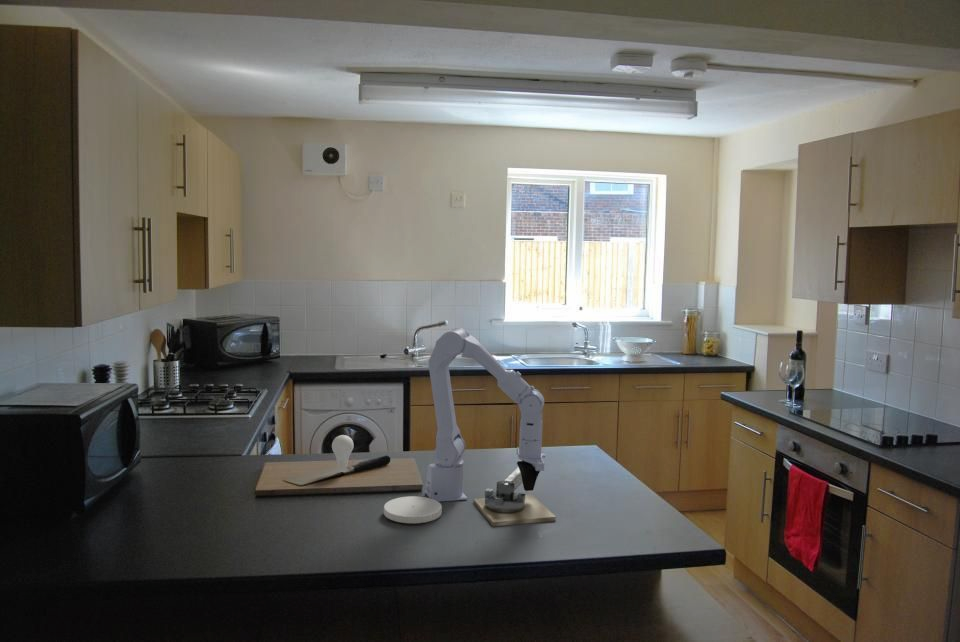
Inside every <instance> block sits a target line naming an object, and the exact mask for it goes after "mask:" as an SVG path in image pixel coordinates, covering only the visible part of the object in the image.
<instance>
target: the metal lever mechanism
mask: <svg viewBox="0 0 960 642" xmlns="http://www.w3.org/2000/svg"><path fill="white" fill-rule="evenodd" d="M521 485H523V482H522V476H521V472H520V469H519V467H518V466H517V467H516V468H515V469H514V471H512V473H510V474H509V475H508V476H507V478H505V479H504V480H498V481H497V482H496V486H495V487H496V489H495V490H496V491H494V489H493V488H486V489H484V498H485V507H486V508H487V509H488V510H490V511H493V512H498V513H516V512H520V511H522V510H523V509H524V508H525V495H526V493H522V494H521V492H519V493H517V492H516V490H517V489H519V487H520V486H521Z"/></svg>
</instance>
